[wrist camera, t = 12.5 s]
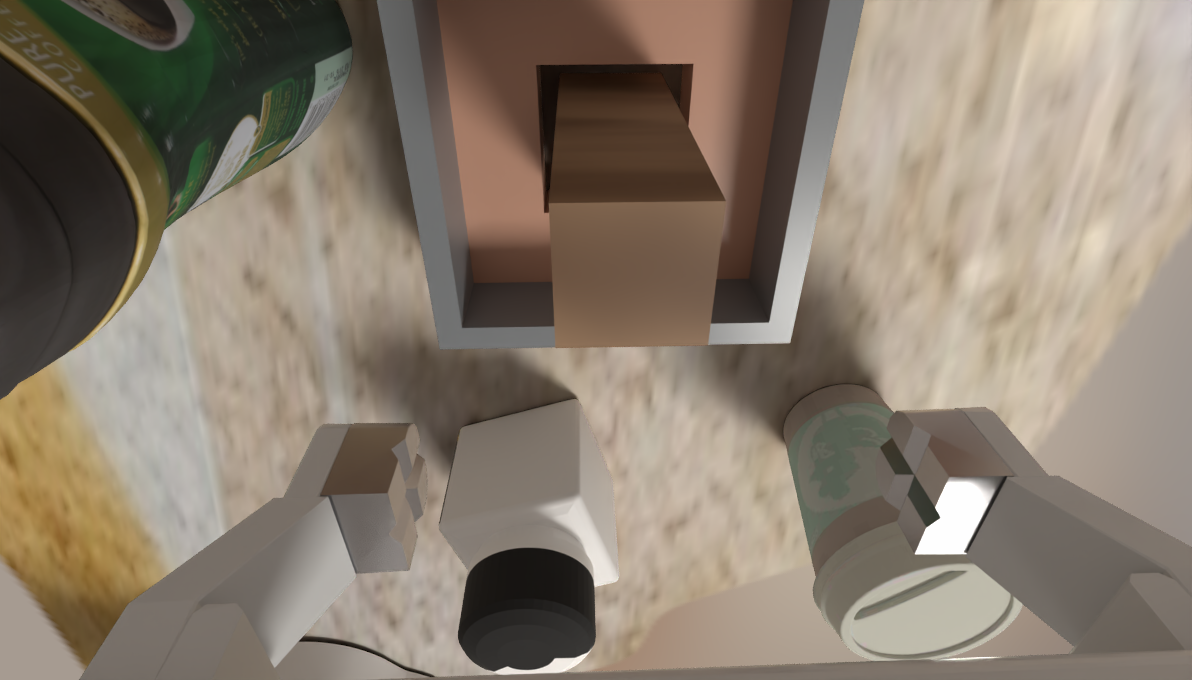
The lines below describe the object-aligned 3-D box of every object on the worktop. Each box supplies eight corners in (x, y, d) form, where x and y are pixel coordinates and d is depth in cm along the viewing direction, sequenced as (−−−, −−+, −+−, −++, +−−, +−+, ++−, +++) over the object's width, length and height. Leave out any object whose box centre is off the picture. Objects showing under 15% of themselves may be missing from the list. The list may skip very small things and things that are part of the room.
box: (754, 270, 30) (790, 342, 25) (462, 275, 30) (439, 349, 25) (812, -81, 22) (880, -76, 17) (411, -80, 22) (362, -75, 17)
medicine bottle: (457, 425, 35) (412, 627, 25) (578, 394, 34) (579, 593, 24) (505, 504, 39) (481, 706, 29) (614, 479, 38) (627, 680, 28)
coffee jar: (46, 6, 23) (-1010, 214, 8) (128, -201, 20) (-1403, -556, 4) (291, 179, 27) (-80, 543, 12) (393, 31, 24) (66, 263, 8)
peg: (655, 170, 27) (708, 345, 16) (562, 172, 27) (555, 348, 16) (660, 72, 25) (726, 200, 14) (560, 73, 25) (548, 203, 14)
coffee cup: (918, 352, 33) (1063, 541, 23) (901, 463, 38) (1015, 659, 28) (756, 376, 34) (831, 570, 24) (760, 482, 39) (823, 680, 29)
